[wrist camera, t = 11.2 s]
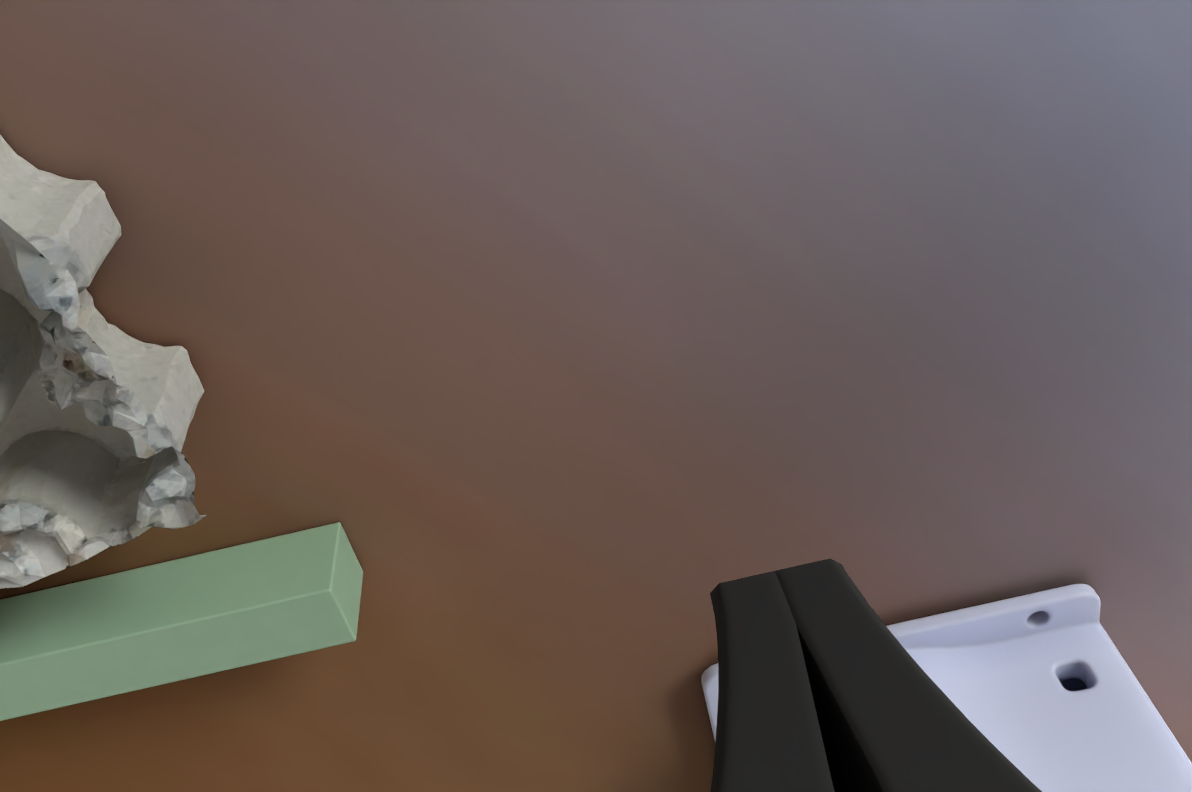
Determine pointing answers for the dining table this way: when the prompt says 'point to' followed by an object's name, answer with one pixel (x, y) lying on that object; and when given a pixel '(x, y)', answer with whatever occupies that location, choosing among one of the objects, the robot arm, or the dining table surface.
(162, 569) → the frame
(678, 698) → the dining table surface
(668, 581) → the dining table surface
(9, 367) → the egg carton
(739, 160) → the dining table surface
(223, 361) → the dining table surface
